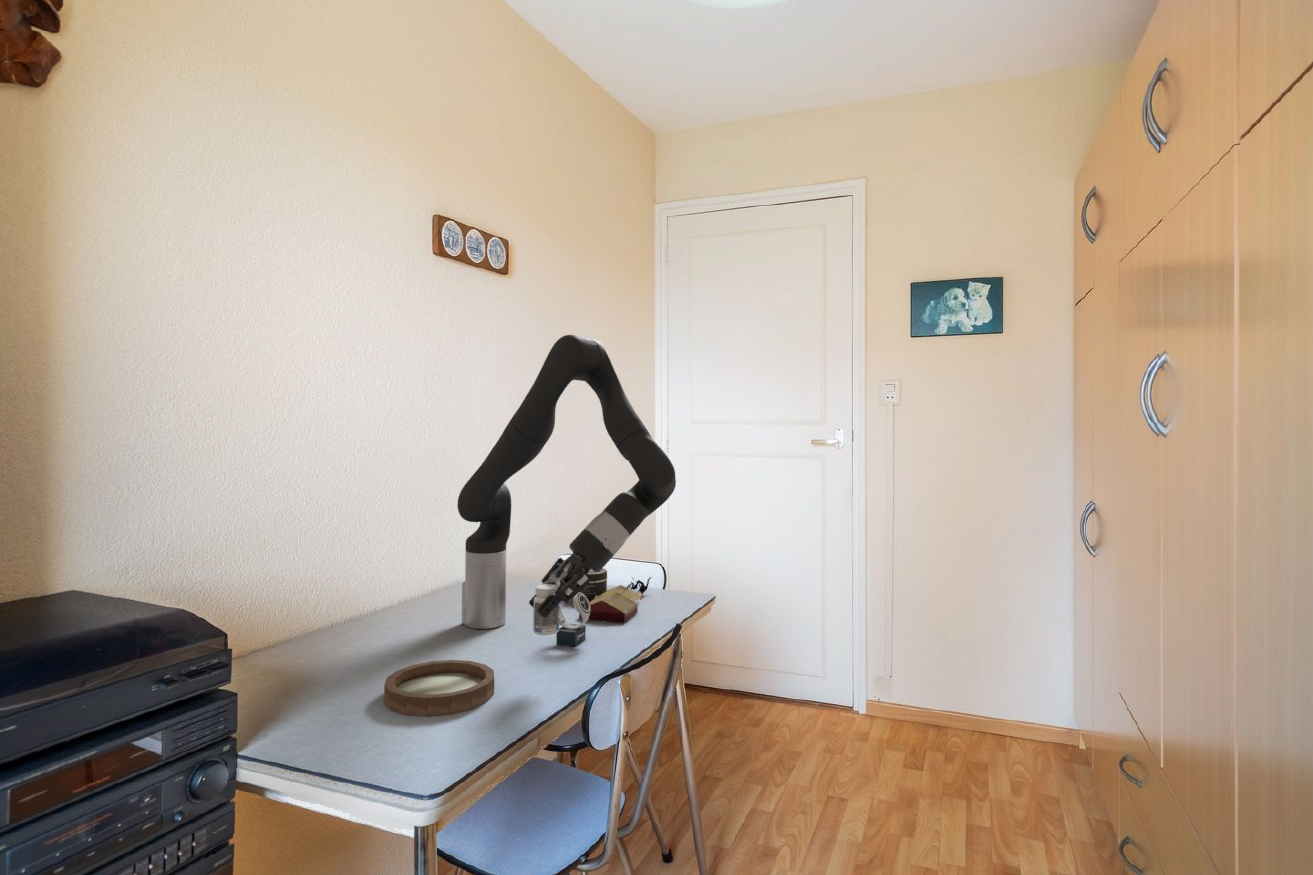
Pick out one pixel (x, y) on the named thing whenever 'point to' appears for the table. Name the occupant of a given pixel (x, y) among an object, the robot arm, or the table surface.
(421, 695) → the ring tray
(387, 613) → the table surface
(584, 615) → the watch
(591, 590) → the jar
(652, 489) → the robot arm
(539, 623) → the pill bottle
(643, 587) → the creature
